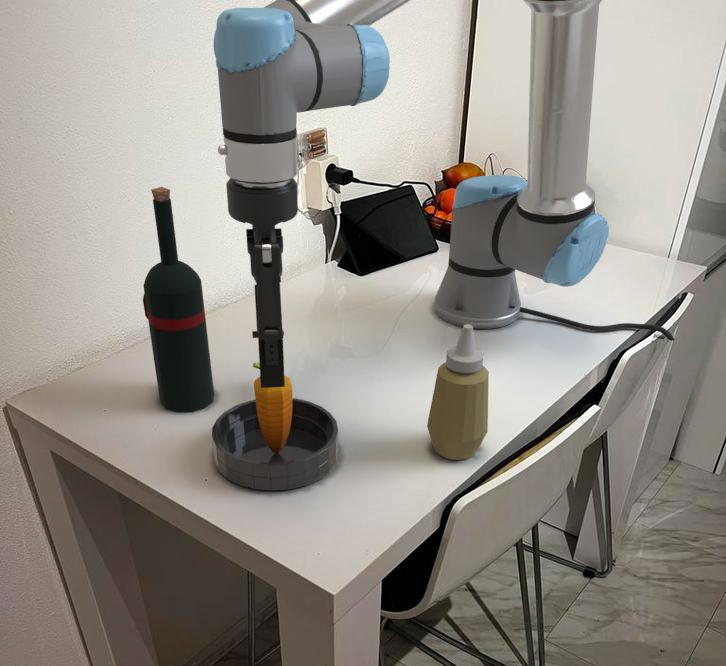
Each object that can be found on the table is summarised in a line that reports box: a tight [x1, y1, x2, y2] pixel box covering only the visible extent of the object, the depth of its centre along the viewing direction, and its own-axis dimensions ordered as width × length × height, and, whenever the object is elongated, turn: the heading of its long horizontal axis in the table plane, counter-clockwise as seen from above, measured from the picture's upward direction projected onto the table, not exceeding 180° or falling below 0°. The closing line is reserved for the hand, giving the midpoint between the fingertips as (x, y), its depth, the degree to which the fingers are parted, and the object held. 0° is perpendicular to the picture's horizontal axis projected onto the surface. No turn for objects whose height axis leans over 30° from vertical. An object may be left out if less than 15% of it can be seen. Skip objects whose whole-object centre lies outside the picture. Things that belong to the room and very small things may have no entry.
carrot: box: [252, 362, 293, 454], centre depth 101 cm, size 5×5×15 cm
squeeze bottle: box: [426, 324, 490, 461], centre depth 103 cm, size 8×8×18 cm
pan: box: [211, 397, 339, 491], centre depth 105 cm, size 16×16×4 cm
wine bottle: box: [142, 186, 215, 413], centre depth 109 cm, size 8×10×30 cm
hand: (270, 358), depth 97 cm, fingers open, 13 cm apart
